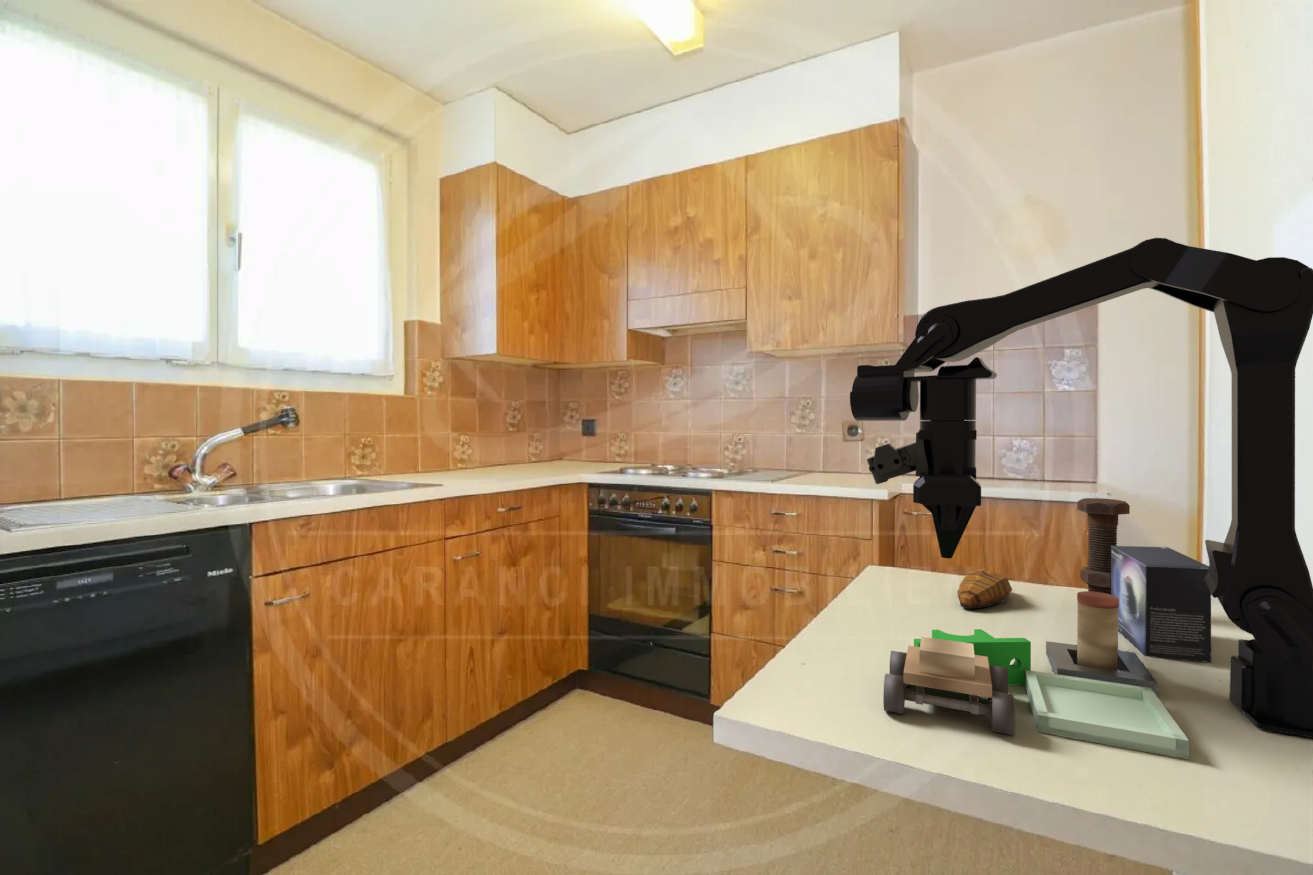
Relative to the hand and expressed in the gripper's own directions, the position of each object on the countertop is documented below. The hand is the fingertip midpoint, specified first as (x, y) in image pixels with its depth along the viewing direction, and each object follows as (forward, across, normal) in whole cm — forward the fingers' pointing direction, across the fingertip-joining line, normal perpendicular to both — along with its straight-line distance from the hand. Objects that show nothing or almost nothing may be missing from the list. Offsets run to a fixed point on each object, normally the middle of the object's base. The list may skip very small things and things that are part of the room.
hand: (946, 557), depth 69 cm
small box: (+11, -12, +22) cm, 28 cm away
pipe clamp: (+11, +7, +2) cm, 13 cm away
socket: (+11, 0, +14) cm, 18 cm away
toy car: (+11, +14, 0) cm, 18 cm away
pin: (+11, 0, +14) cm, 18 cm away
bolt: (+11, -24, +19) cm, 33 cm away
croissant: (+11, -22, +5) cm, 26 cm away
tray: (+11, +12, +12) cm, 20 cm away
